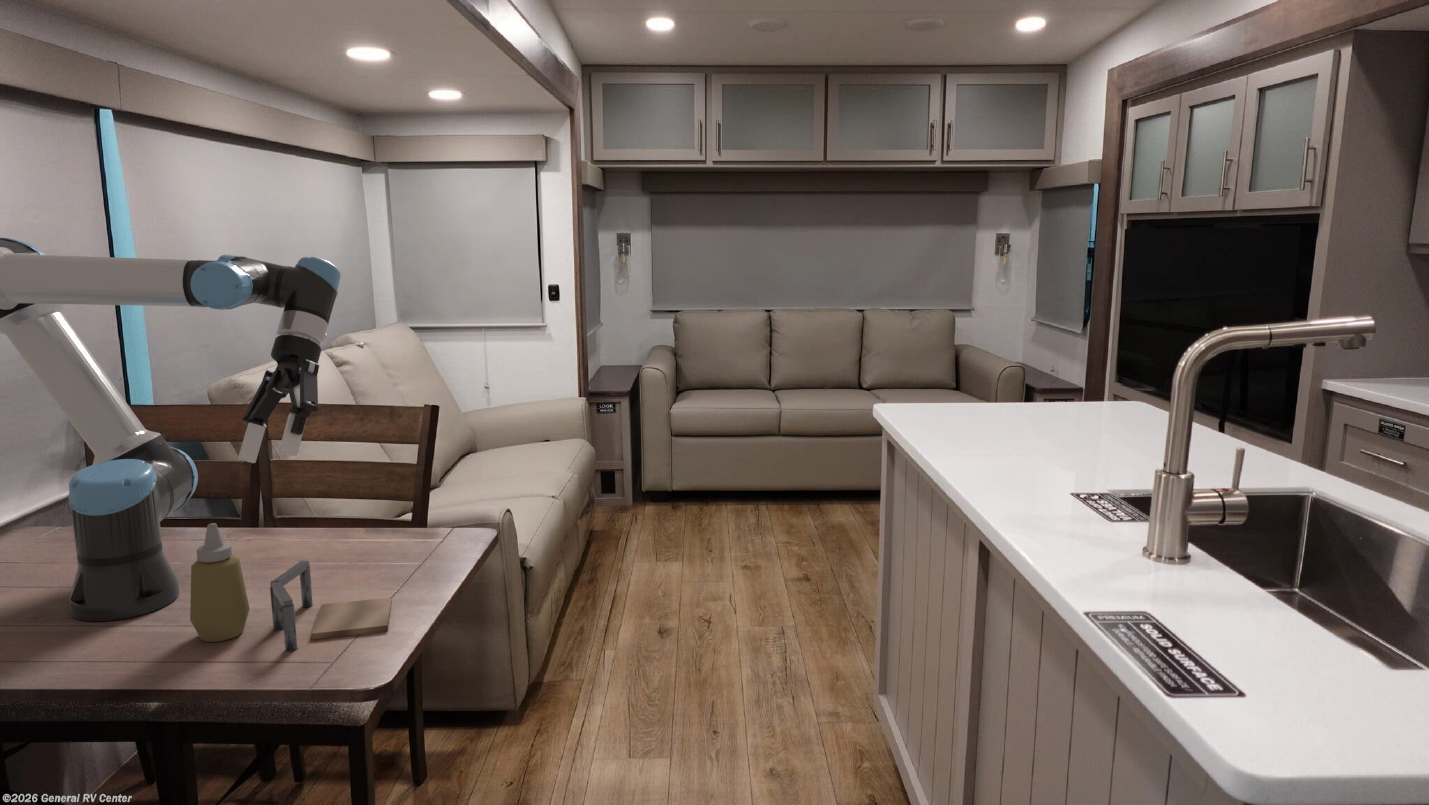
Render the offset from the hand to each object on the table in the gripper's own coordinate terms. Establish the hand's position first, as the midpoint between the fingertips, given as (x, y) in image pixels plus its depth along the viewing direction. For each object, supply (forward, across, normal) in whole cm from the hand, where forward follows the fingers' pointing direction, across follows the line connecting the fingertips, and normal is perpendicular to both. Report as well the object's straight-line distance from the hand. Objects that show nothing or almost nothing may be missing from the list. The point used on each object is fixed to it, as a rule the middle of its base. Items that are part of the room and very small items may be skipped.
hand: (266, 457), depth 140 cm
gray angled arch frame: (+27, -6, -8) cm, 28 cm away
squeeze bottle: (+29, 0, -1) cm, 29 cm away
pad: (+24, -12, -15) cm, 31 cm away
